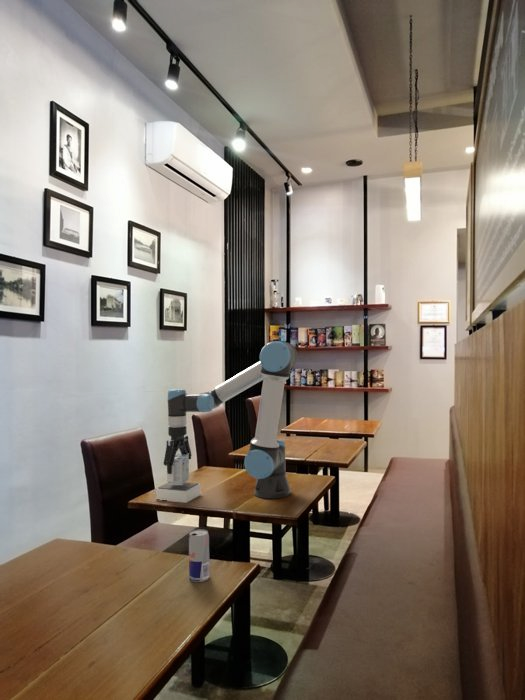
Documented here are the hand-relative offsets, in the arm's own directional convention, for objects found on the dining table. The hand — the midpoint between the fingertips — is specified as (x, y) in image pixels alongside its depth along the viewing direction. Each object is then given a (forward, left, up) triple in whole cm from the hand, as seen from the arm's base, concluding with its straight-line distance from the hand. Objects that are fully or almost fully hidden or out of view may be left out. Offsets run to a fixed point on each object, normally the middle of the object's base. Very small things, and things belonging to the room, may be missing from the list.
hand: (178, 478), depth 210 cm
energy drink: (-45, +66, -8) cm, 80 cm away
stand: (0, 0, -8) cm, 8 cm away
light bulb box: (0, 0, -2) cm, 2 cm away
